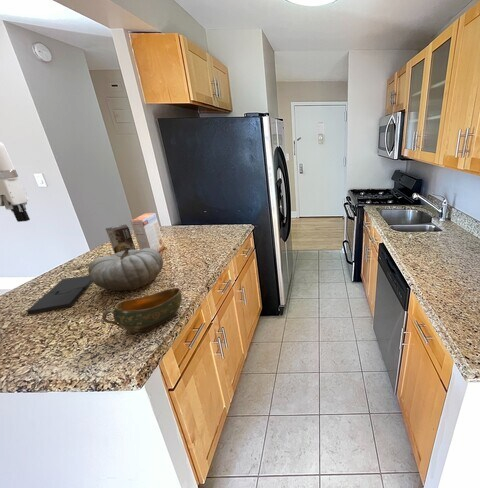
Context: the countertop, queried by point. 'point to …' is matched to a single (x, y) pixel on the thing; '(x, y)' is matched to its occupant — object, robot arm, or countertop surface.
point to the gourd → (126, 269)
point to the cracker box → (148, 232)
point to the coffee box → (120, 238)
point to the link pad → (71, 284)
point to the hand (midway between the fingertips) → (23, 220)
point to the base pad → (55, 301)
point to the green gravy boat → (145, 311)
